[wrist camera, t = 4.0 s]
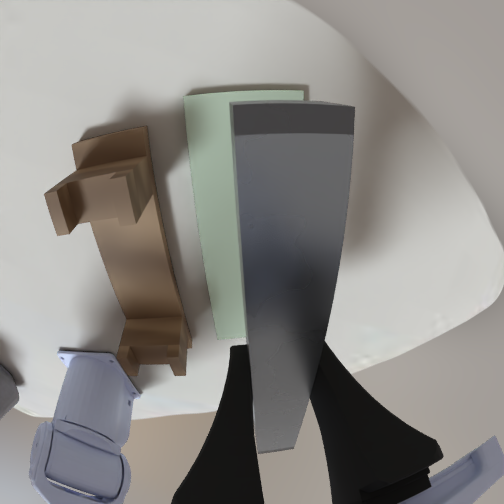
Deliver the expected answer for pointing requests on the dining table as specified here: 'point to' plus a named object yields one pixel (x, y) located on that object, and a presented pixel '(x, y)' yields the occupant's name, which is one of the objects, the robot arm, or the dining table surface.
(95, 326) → the dining table surface
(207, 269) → the pad
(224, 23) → the dining table surface
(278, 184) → the rail
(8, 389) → the coffee pot
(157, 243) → the rack
